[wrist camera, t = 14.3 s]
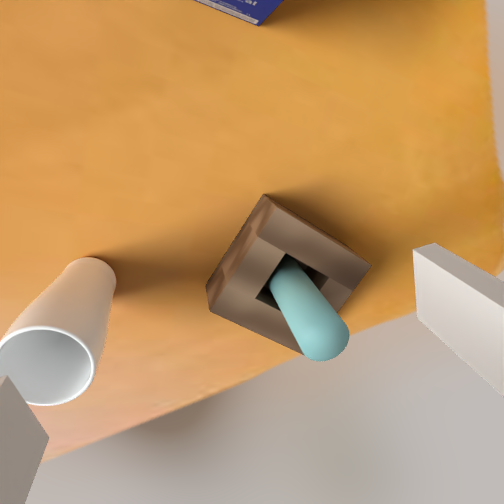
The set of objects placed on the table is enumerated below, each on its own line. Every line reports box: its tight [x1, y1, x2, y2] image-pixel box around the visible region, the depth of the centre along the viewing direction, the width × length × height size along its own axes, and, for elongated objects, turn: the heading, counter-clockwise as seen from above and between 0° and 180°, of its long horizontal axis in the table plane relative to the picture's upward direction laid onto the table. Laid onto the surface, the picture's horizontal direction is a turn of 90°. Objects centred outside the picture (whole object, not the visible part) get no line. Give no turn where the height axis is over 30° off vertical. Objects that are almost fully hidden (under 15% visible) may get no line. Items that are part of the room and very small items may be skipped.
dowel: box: [266, 254, 349, 361], centre depth 36 cm, size 4×4×14 cm
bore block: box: [206, 194, 372, 355], centre depth 40 cm, size 12×12×6 cm
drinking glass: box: [0, 257, 116, 406], centre depth 33 cm, size 7×7×15 cm
